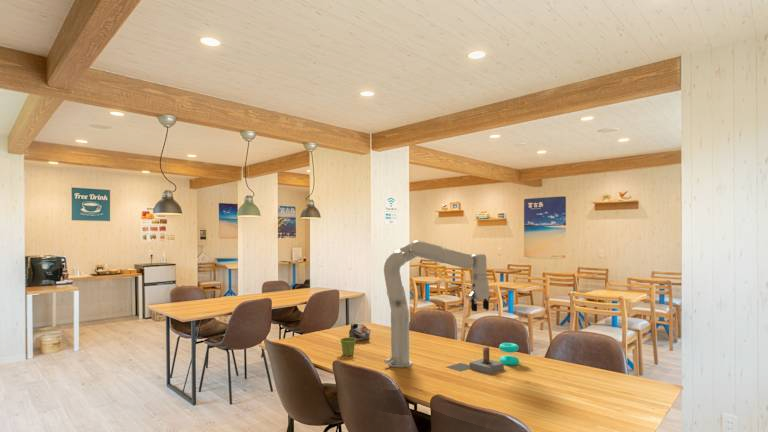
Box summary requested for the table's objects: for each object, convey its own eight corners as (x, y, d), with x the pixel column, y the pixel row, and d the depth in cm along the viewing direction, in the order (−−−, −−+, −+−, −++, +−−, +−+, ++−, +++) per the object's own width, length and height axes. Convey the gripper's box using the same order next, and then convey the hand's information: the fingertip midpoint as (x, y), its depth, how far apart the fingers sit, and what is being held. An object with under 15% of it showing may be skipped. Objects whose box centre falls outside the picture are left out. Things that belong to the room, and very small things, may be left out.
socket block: (489, 375, 213) (489, 367, 214) (469, 369, 223) (469, 362, 223) (503, 370, 221) (503, 363, 221) (484, 365, 230) (484, 358, 230)
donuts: (498, 341, 239) (517, 342, 237) (499, 360, 238) (518, 361, 236) (499, 346, 229) (519, 347, 227) (500, 365, 229) (520, 366, 227)
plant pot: (357, 352, 258) (357, 337, 259) (354, 357, 249) (354, 341, 249) (341, 352, 259) (341, 337, 260) (338, 356, 250) (338, 341, 250)
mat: (460, 372, 218) (460, 371, 218) (445, 367, 226) (445, 367, 226) (475, 367, 226) (475, 366, 226) (460, 363, 233) (460, 362, 233)
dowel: (487, 371, 220) (486, 348, 220) (482, 369, 222) (481, 347, 223) (490, 369, 222) (490, 347, 222) (486, 368, 224) (485, 346, 224)
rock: (372, 337, 298) (375, 320, 292) (365, 348, 287) (367, 331, 281) (352, 329, 302) (354, 313, 296) (345, 340, 292) (346, 323, 286)
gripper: (474, 278, 226) (475, 312, 225) (495, 276, 237) (496, 309, 236) (463, 278, 231) (464, 310, 231) (483, 276, 243) (484, 307, 242)
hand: (480, 309), depth 233 cm, fingers open, 9 cm apart
